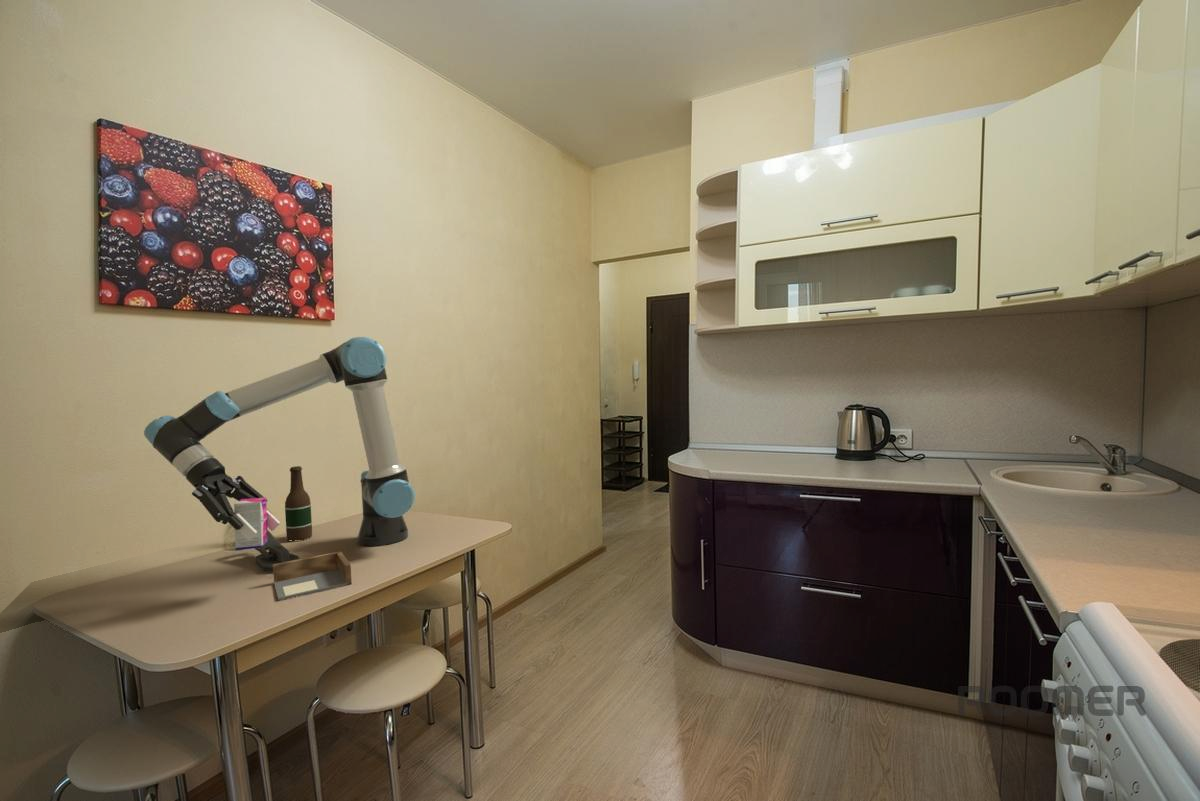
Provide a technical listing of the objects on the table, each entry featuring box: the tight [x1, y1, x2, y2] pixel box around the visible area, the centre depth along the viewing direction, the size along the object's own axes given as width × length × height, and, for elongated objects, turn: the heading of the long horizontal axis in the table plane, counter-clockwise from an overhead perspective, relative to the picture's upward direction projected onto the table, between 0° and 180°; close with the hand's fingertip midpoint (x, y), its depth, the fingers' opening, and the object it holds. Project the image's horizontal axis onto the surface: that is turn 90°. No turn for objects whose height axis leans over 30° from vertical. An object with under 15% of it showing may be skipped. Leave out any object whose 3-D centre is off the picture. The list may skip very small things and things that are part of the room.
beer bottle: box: [284, 465, 313, 542], centre depth 177 cm, size 8×8×24 cm
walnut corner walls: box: [272, 550, 352, 586], centre depth 136 cm, size 16×14×5 cm
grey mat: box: [273, 569, 352, 601], centre depth 136 cm, size 16×14×1 cm
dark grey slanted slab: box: [253, 529, 300, 574], centre depth 155 cm, size 9×7×25 cm
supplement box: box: [233, 497, 268, 551], centre depth 132 cm, size 6×6×12 cm
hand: (264, 531), depth 132 cm, fingers closed on supplement box, 7 cm apart
